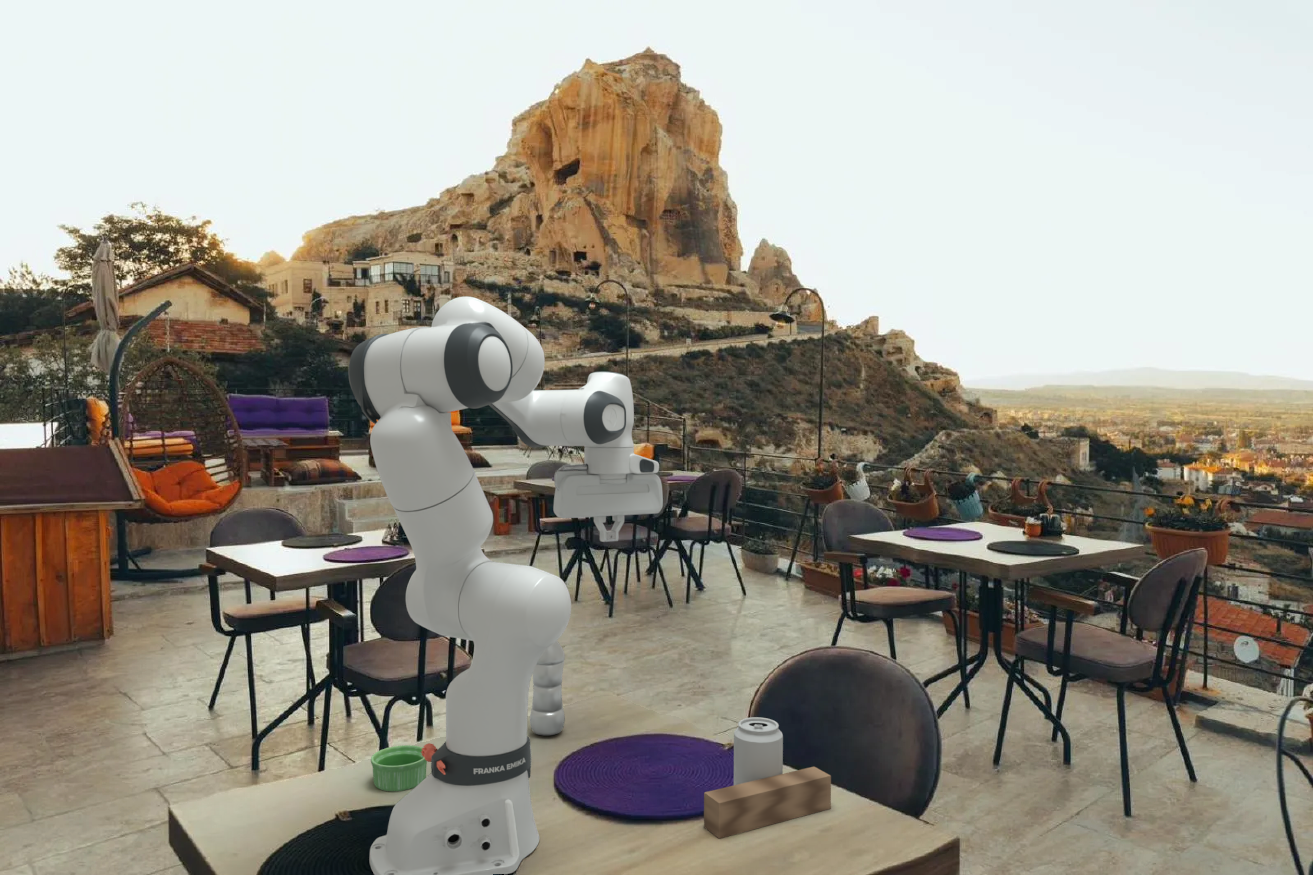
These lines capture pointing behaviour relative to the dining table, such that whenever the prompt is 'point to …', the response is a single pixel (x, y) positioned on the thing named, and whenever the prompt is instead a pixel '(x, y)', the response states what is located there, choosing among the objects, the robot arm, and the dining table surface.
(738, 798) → the wooden block
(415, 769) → the ramekin
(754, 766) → the can
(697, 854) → the dining table surface
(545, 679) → the plastic bottle
